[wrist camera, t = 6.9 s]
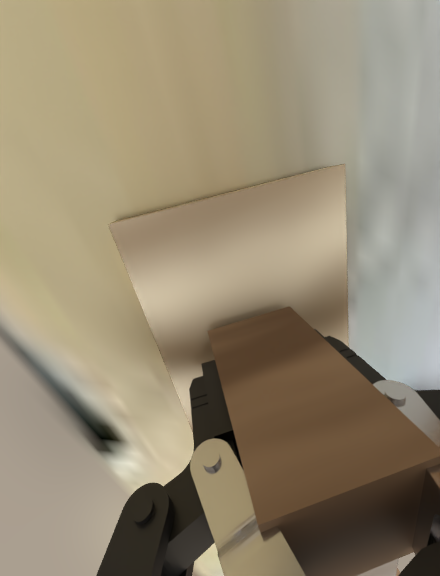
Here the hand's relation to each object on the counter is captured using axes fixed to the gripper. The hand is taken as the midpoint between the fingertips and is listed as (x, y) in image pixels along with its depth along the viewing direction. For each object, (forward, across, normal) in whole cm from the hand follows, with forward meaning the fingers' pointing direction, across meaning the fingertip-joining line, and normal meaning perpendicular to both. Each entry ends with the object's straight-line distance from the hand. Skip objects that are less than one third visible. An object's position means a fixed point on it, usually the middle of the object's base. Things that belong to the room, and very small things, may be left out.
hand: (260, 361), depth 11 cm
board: (+3, 0, +6) cm, 6 cm away
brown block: (+1, 0, +3) cm, 4 cm away
